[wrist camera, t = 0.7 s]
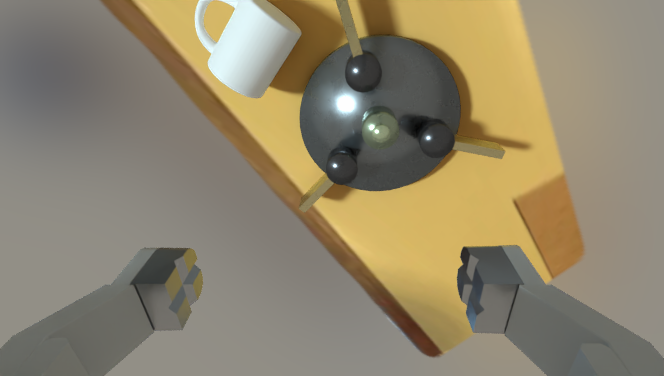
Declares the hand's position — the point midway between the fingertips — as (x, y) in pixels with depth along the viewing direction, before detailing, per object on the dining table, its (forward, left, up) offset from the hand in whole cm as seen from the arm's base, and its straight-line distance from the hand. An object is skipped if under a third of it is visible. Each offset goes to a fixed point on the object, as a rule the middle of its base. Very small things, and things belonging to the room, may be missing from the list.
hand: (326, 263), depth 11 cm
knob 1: (+18, +1, -40) cm, 44 cm away
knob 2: (-2, +1, -40) cm, 40 cm away
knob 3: (+8, +18, -40) cm, 45 cm away
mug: (0, -13, -43) cm, 45 cm away
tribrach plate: (+8, +7, -42) cm, 44 cm away
